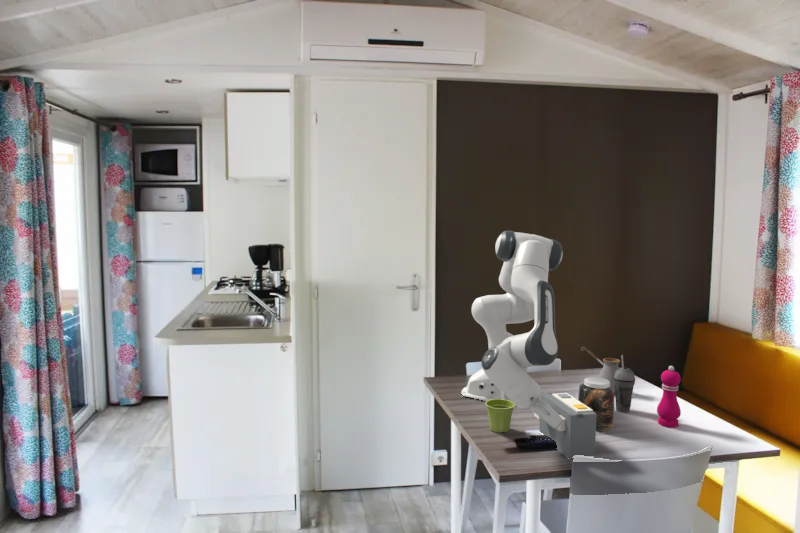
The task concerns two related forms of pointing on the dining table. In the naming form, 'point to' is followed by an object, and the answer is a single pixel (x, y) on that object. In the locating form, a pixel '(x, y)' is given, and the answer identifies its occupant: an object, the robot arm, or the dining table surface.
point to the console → (571, 425)
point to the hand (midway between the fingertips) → (555, 423)
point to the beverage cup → (624, 388)
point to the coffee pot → (607, 368)
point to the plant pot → (499, 414)
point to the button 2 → (562, 424)
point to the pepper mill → (669, 399)
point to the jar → (598, 400)
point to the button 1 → (537, 416)
